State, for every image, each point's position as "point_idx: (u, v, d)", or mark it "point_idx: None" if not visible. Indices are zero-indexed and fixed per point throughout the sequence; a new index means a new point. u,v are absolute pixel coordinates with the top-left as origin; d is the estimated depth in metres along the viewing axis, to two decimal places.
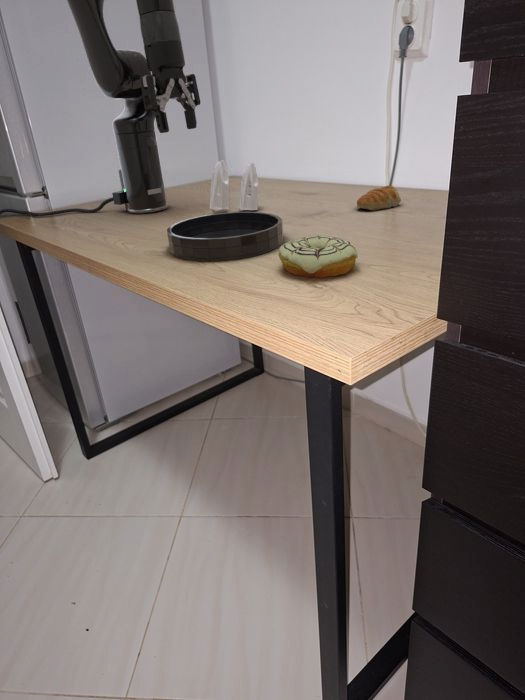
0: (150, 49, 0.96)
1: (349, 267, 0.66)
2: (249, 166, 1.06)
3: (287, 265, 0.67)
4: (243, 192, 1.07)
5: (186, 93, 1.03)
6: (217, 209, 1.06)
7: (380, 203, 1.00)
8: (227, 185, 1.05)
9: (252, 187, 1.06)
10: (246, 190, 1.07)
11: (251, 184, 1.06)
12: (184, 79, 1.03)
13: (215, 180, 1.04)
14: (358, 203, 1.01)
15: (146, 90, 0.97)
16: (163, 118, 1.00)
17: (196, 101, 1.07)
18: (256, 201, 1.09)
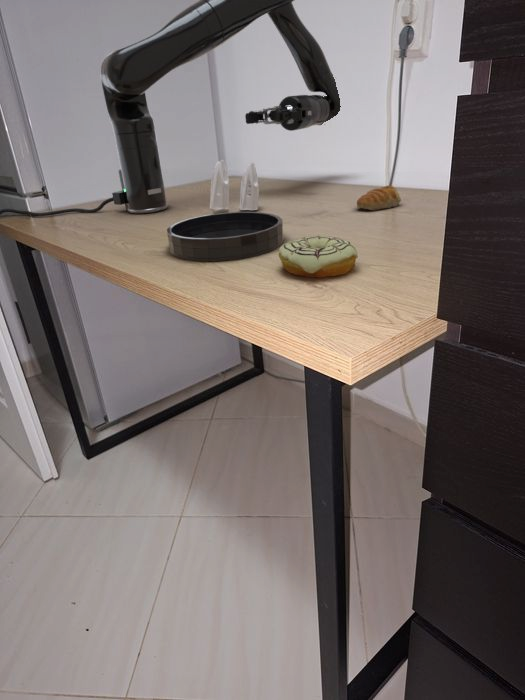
0: None
1: (349, 267, 0.66)
2: (249, 166, 1.06)
3: (287, 265, 0.67)
4: (243, 192, 1.07)
5: (270, 123, 1.17)
6: (217, 209, 1.06)
7: (380, 203, 1.00)
8: (227, 185, 1.05)
9: (252, 187, 1.06)
10: (246, 190, 1.07)
11: (251, 184, 1.06)
12: None
13: (215, 180, 1.04)
14: (358, 203, 1.01)
15: (307, 113, 1.12)
16: (286, 120, 1.10)
17: None
18: (256, 201, 1.09)
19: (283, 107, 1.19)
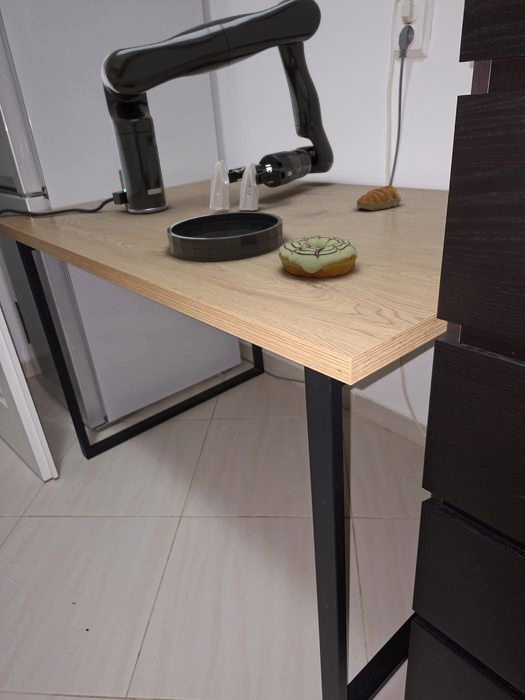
0: (290, 170, 1.17)
1: (349, 267, 0.66)
2: (249, 166, 1.06)
3: (287, 265, 0.67)
4: (243, 192, 1.07)
5: None
6: (217, 209, 1.06)
7: (380, 203, 1.00)
8: (227, 185, 1.05)
9: (252, 187, 1.06)
10: (246, 190, 1.07)
11: (251, 184, 1.06)
12: None
13: (215, 180, 1.04)
14: (358, 203, 1.01)
15: (286, 174, 1.11)
16: (265, 182, 1.08)
17: None
18: (256, 201, 1.09)
19: (263, 165, 1.17)
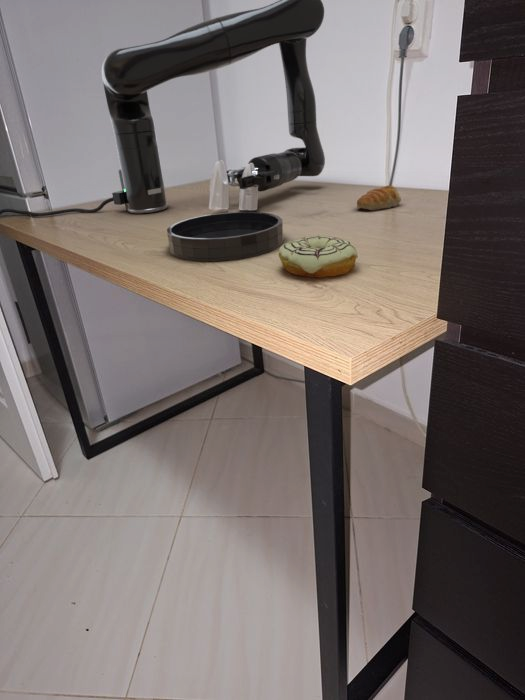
0: (279, 173, 1.14)
1: (349, 267, 0.66)
2: (248, 166, 1.06)
3: (287, 265, 0.67)
4: (242, 192, 1.07)
5: (237, 185, 1.12)
6: (216, 209, 1.06)
7: (380, 203, 1.00)
8: (226, 185, 1.05)
9: (251, 187, 1.06)
10: (245, 190, 1.07)
11: None
12: None
13: (214, 180, 1.04)
14: (358, 203, 1.01)
15: (273, 178, 1.07)
16: (249, 186, 1.05)
17: None
18: (255, 201, 1.09)
19: None
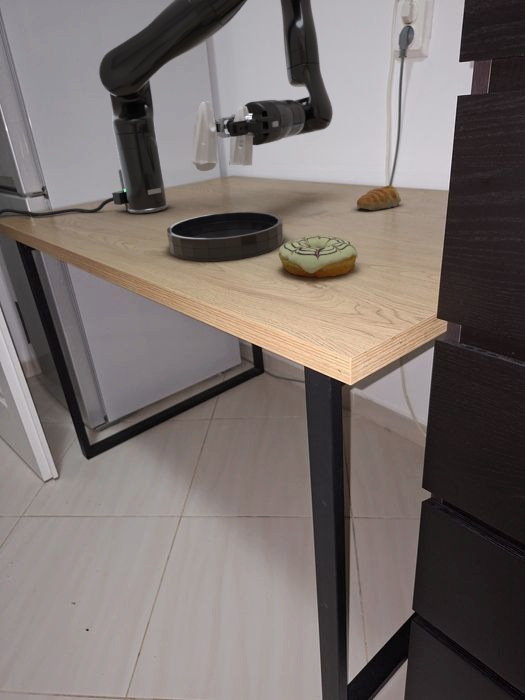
0: (279, 122, 0.93)
1: (349, 267, 0.66)
2: (241, 109, 0.86)
3: (287, 265, 0.67)
4: (234, 142, 0.87)
5: None
6: (202, 163, 0.86)
7: (380, 203, 1.00)
8: (214, 133, 0.85)
9: (245, 136, 0.86)
10: (238, 140, 0.87)
11: None
12: None
13: (199, 126, 0.84)
14: (358, 203, 1.01)
15: (271, 125, 0.87)
16: (242, 133, 0.85)
17: None
18: (250, 154, 0.89)
19: None
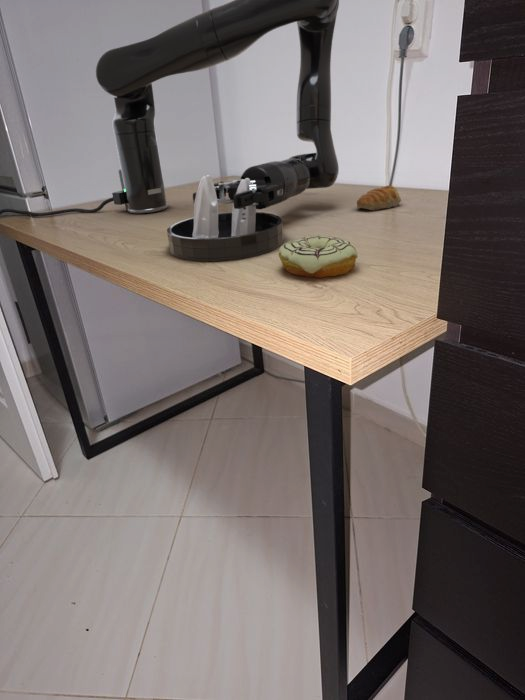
0: (282, 186, 0.89)
1: (349, 267, 0.66)
2: (243, 182, 0.82)
3: (287, 265, 0.67)
4: (236, 216, 0.83)
5: (228, 202, 0.88)
6: None
7: (380, 203, 1.00)
8: (215, 207, 0.81)
9: (247, 209, 0.83)
10: (240, 213, 0.83)
11: None
12: None
13: (199, 201, 0.80)
14: (358, 203, 1.01)
15: (276, 194, 0.83)
16: (247, 204, 0.80)
17: None
18: (253, 227, 0.85)
19: None
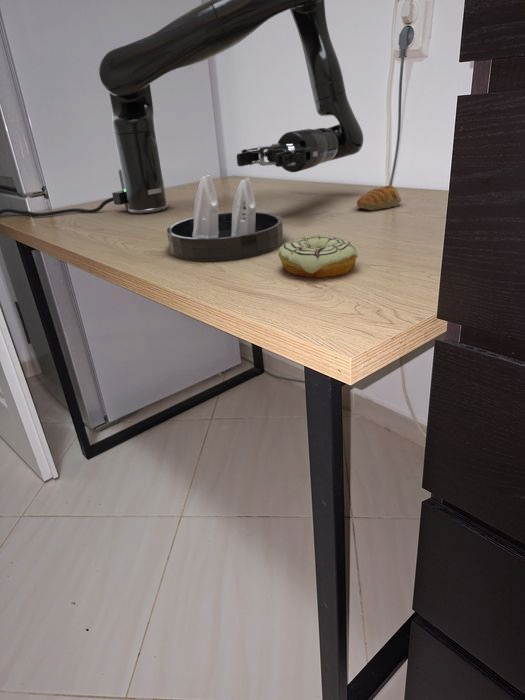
0: None
1: (349, 267, 0.66)
2: (243, 182, 0.82)
3: (287, 265, 0.67)
4: (236, 216, 0.83)
5: (266, 164, 0.97)
6: None
7: (380, 203, 1.00)
8: (215, 207, 0.81)
9: (247, 209, 0.83)
10: (240, 213, 0.83)
11: (246, 205, 0.82)
12: None
13: (199, 201, 0.80)
14: (358, 203, 1.01)
15: (312, 155, 0.92)
16: (286, 163, 0.89)
17: None
18: (253, 227, 0.85)
19: (283, 144, 0.98)
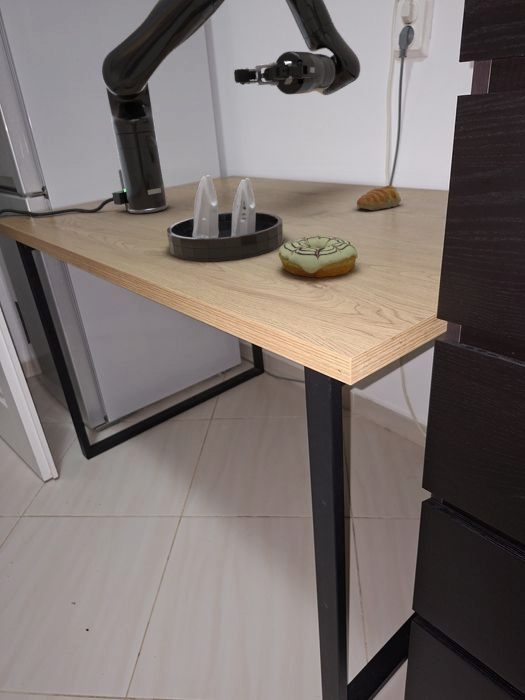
0: None
1: (349, 267, 0.66)
2: (243, 182, 0.82)
3: (287, 265, 0.67)
4: (236, 216, 0.83)
5: (264, 84, 0.97)
6: None
7: (380, 203, 1.00)
8: (215, 207, 0.81)
9: (247, 209, 0.83)
10: (240, 213, 0.83)
11: (246, 205, 0.82)
12: None
13: (199, 201, 0.80)
14: (358, 203, 1.01)
15: (309, 70, 0.92)
16: (284, 76, 0.90)
17: (245, 82, 0.97)
18: (253, 227, 0.85)
19: None
